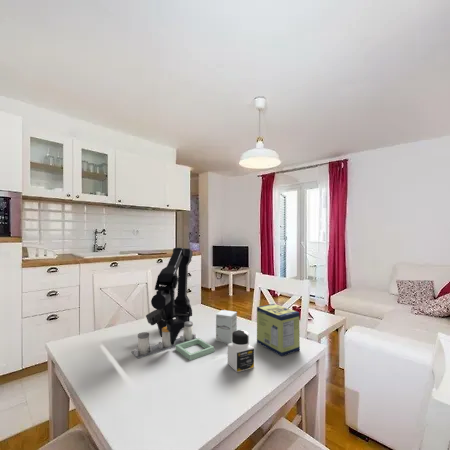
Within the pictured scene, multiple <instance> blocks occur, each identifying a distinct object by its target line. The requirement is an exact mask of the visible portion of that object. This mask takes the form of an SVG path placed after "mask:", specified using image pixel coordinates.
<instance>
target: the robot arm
mask: <svg viewBox="0 0 450 450" xmlns="http://www.w3.org/2000/svg"><path fill="white" fill-rule="evenodd" d="M192 258H193V251H192V250H191V248H184V247H174V248H173V249H172V253H171V256H170V259H169V261H168V263H167V264H166V267H164V268H162V269H161V271H160V272H159V274H158V275H157V278H156V281H155V286H154V291H156V293H155V294H154V295H153V296H152V297H151V301H150V303H151V304H150V305H151V306H152V307H153V309H155V310H153V311H151V312H149V313H147V314H146V315H145V317H146V320H147V323H148V324H149V325H150V326H154V325H157V326H156V327H157V328H158V332H159V335H160V338H162V328H163V327H167V330H168V331H169V333H170V342H171V345H172V344H174V342H175V340H176V339H178V336H179V334H180V332H181V330H183V328H184V327H185V322H187V321H190V319H191V318H190V317H192V316H193V308H192V305H191V303H190V301H191V300H190V298H189V297H188V295H187V294H188V270H189V265H190V263H191V262H192ZM175 289H177V295H176V297H175V294H176V292H175ZM190 322H191V321H190Z"/></svg>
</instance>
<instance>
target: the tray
mask: <svg viewBox="0 0 450 450" xmlns="http://www.w3.org/2000/svg"><path fill="white" fill-rule="evenodd" d="M196 345H199V346H201V347H202V348H204V349H200V350H197V351H194V352H190V351H188V350H187V349H186V348H189V347H192V346H196ZM175 351H177V352H178V353H180V355H182V356H183V357H184V358H186V359H188V360H189V361H193V360H195V359H198V358H201V357H203V356H207V355H209V354H212V353H214V352H215V346H213V345H212V344H210V343H208V342H207V341H205V340H203V339H201V338H199V337H198V338H197V339H194V340H190V341H187V342H184V343H180V344H177V345H176V347H175Z"/></svg>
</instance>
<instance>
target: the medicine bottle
mask: <svg viewBox="0 0 450 450" xmlns="http://www.w3.org/2000/svg"><path fill="white" fill-rule="evenodd" d="M227 364H228V365H229V366H230V367H231V368H232V369H233V371H235V372H236V373H240V372H244V371H247V370H250V369H254V368H255V347H254V346H252V345H251V344H250V333H249V332H248V331H246V330H242V329H237V331H234V332H233V334H232V343H230V344H228V345H227Z"/></svg>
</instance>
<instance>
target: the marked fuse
mask: <svg viewBox="0 0 450 450" xmlns="http://www.w3.org/2000/svg"><path fill="white" fill-rule="evenodd" d="M161 343H163V347H164V348H168V347H171V346H172V345H171V342H170V333H169V331H168V330H167V326H166V327H163V328H162V337H161Z"/></svg>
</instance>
